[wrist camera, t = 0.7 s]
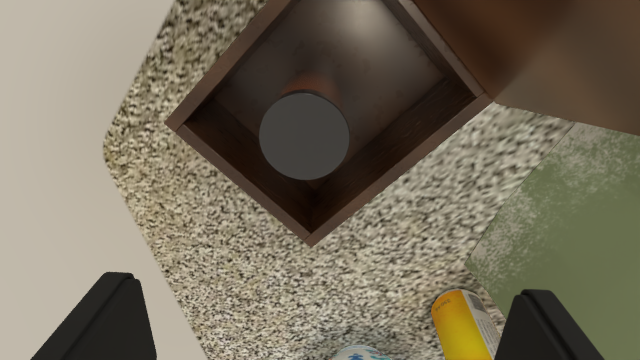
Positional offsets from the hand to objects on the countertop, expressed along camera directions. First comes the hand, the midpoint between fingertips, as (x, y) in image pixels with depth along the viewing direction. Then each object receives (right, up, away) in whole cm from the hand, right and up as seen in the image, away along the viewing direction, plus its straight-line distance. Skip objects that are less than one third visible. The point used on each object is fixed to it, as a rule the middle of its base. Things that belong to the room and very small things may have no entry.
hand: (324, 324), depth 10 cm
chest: (+1, +12, +25) cm, 28 cm away
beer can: (+16, -11, +36) cm, 41 cm away
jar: (-1, +11, +24) cm, 27 cm away
